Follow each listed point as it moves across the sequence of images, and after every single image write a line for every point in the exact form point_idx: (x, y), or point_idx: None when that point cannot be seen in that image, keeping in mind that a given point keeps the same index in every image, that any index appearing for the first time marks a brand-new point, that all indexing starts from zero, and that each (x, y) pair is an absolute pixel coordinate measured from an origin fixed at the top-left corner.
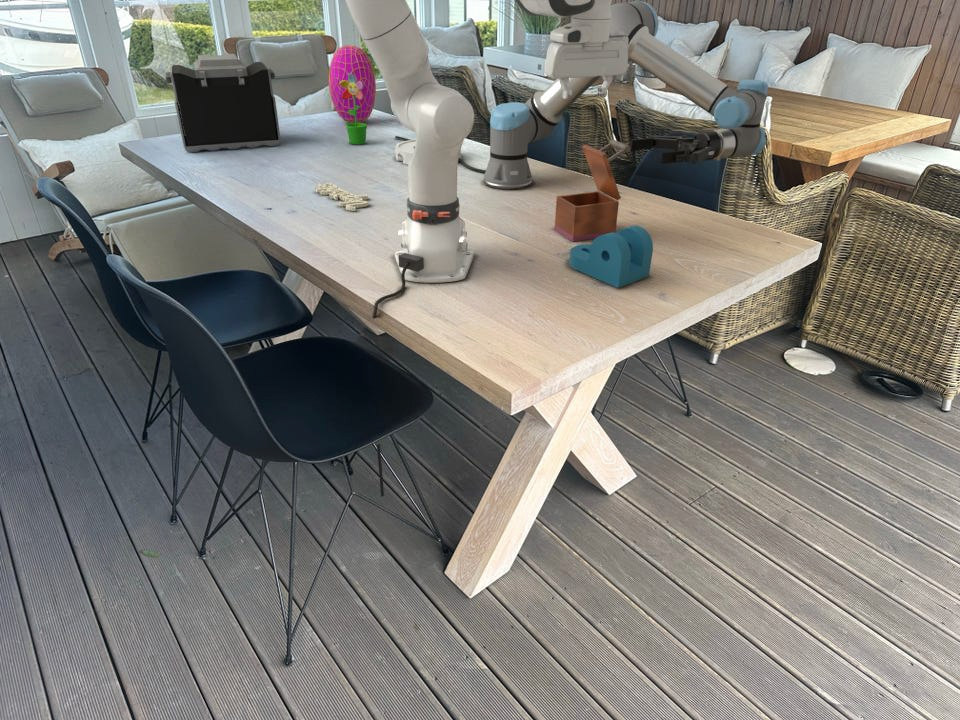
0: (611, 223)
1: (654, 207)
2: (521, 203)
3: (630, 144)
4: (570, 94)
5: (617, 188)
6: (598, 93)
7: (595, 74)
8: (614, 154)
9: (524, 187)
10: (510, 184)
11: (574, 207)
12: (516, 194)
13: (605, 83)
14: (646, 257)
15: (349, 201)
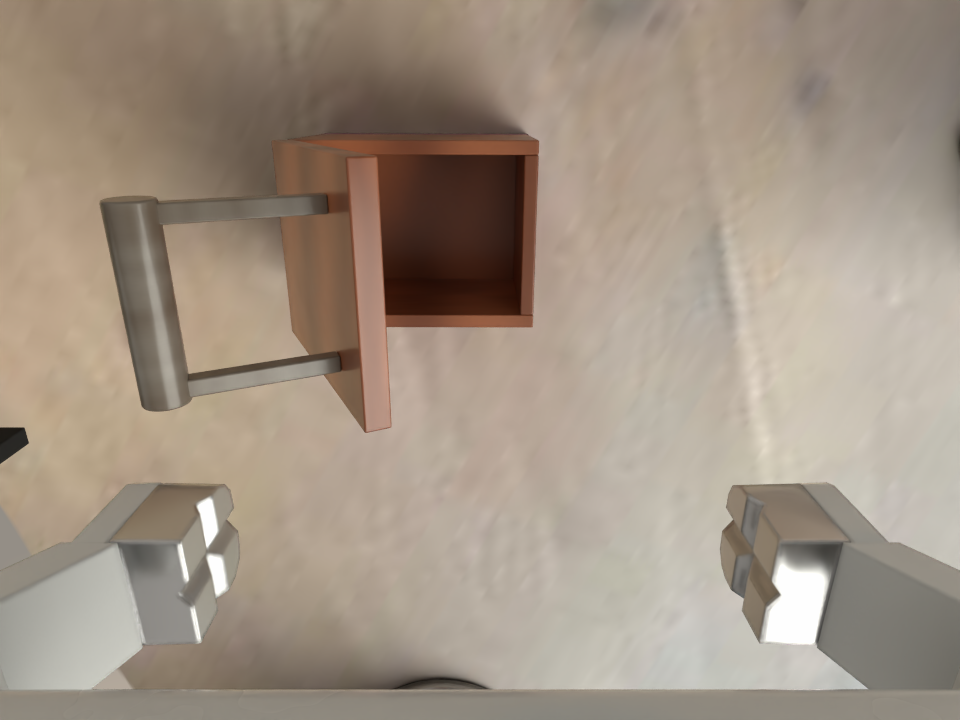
0: (339, 135)
1: (20, 365)
2: (498, 560)
3: (3, 457)
4: (783, 507)
5: (284, 142)
6: (228, 561)
7: (312, 718)
8: (242, 216)
9: (414, 683)
10: None
11: (538, 149)
12: (469, 641)
13: (45, 646)
14: None
15: None
